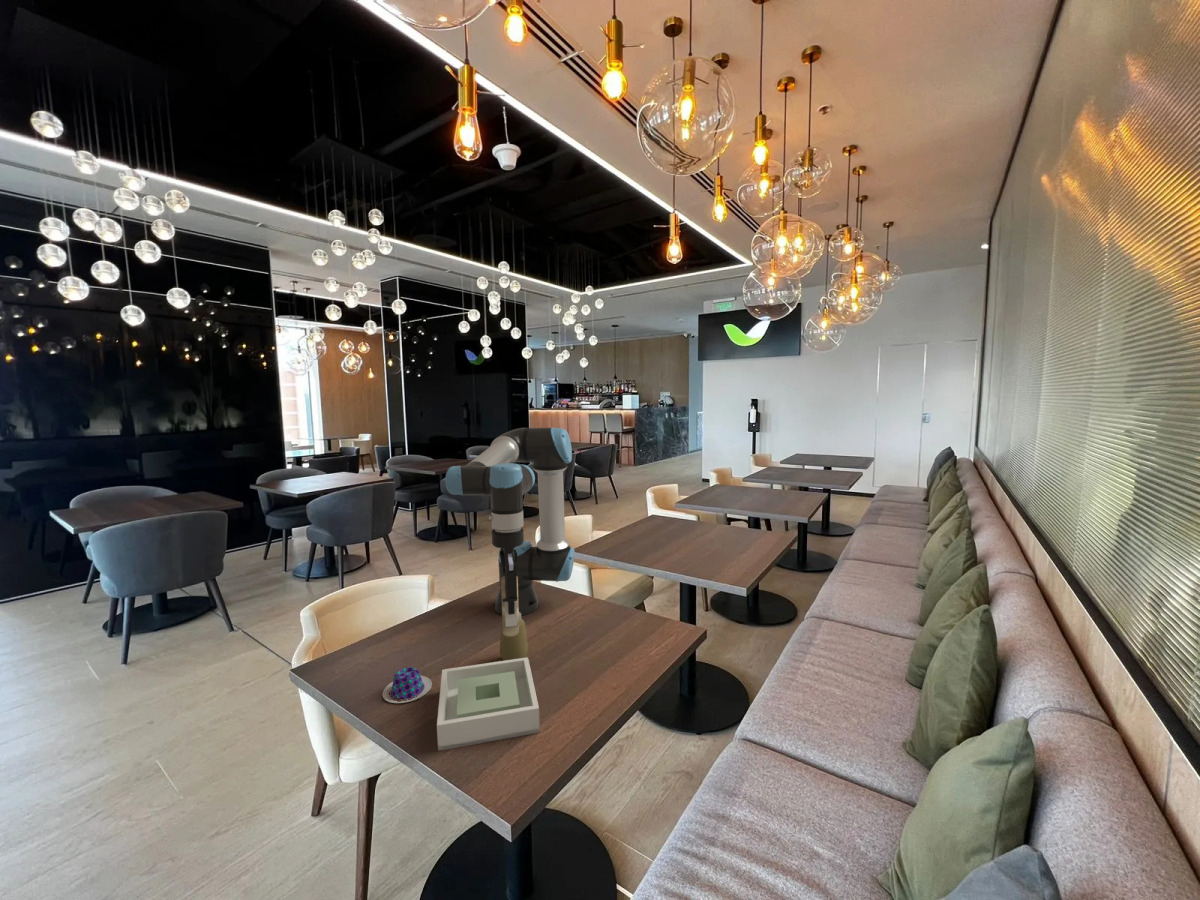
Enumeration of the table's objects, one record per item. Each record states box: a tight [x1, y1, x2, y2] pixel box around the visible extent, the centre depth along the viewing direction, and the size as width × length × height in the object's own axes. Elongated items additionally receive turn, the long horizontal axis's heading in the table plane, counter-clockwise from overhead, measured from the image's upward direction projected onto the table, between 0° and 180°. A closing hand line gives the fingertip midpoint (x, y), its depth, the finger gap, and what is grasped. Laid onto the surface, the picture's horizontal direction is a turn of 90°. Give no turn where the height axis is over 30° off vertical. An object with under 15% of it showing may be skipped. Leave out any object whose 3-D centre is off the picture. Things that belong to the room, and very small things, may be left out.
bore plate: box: [457, 671, 520, 719], centre depth 120 cm, size 14×14×4 cm
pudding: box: [382, 666, 433, 704], centre depth 128 cm, size 12×12×5 cm
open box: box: [436, 656, 541, 752], centre depth 120 cm, size 22×22×6 cm
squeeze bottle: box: [499, 612, 529, 661], centre depth 140 cm, size 8×8×18 cm
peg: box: [501, 576, 519, 637], centre depth 121 cm, size 4×4×14 cm
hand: (510, 620), depth 121 cm, fingers closed on peg, 4 cm apart
